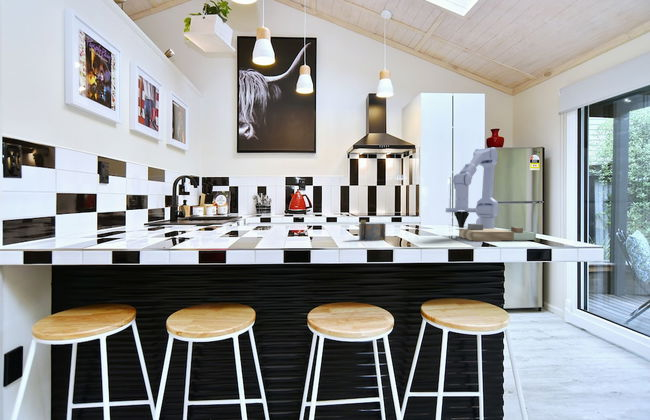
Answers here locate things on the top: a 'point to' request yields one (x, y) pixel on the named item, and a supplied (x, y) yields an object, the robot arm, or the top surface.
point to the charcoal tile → (475, 226)
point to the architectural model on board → (371, 231)
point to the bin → (524, 236)
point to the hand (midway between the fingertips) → (461, 227)
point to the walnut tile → (517, 229)
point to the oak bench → (486, 234)
